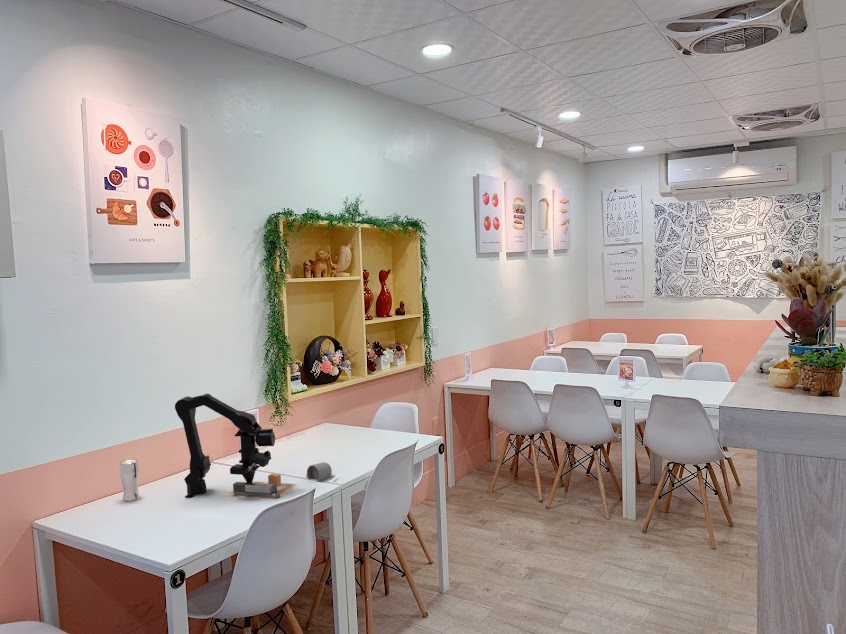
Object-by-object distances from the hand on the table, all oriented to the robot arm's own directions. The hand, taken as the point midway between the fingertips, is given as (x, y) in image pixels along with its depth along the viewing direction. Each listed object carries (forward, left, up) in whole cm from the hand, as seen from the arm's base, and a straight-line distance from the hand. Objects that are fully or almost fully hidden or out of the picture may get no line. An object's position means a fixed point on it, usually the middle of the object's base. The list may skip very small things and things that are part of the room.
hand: (250, 485), depth 257 cm
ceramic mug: (+19, +20, -4) cm, 29 cm away
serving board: (+4, +2, -4) cm, 6 cm away
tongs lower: (+5, -4, -2) cm, 7 cm away
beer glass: (-45, -13, -4) cm, 47 cm away
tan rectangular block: (+6, +9, -2) cm, 11 cm away
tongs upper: (+4, -4, -1) cm, 6 cm away
